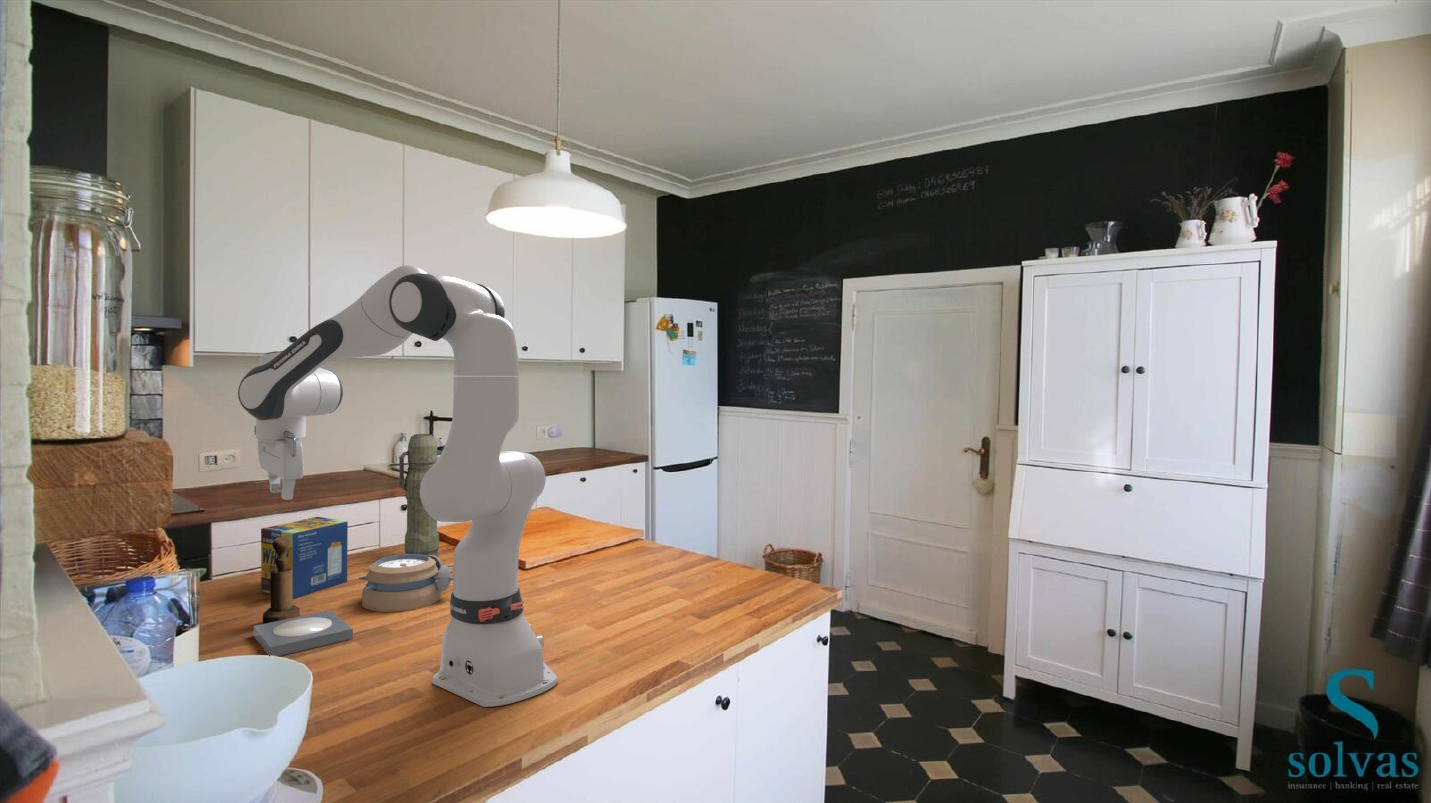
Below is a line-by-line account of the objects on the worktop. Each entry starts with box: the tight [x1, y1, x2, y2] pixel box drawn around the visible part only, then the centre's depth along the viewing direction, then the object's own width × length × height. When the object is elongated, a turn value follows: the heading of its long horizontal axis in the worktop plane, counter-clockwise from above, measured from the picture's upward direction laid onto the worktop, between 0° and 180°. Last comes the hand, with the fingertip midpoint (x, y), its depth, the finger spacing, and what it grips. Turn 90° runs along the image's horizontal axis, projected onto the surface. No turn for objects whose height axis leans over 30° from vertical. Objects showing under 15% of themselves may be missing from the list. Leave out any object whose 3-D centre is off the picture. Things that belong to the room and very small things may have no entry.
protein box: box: [260, 516, 349, 600], centre depth 167 cm, size 10×15×16 cm
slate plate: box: [252, 609, 354, 657], centre depth 137 cm, size 14×14×2 cm
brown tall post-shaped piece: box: [262, 537, 301, 624], centre depth 145 cm, size 7×6×18 cm
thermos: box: [398, 433, 443, 558], centre depth 195 cm, size 9×12×35 cm
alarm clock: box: [358, 553, 454, 613], centre depth 163 cm, size 17×9×23 cm
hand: (281, 495), depth 144 cm, fingers open, 8 cm apart
